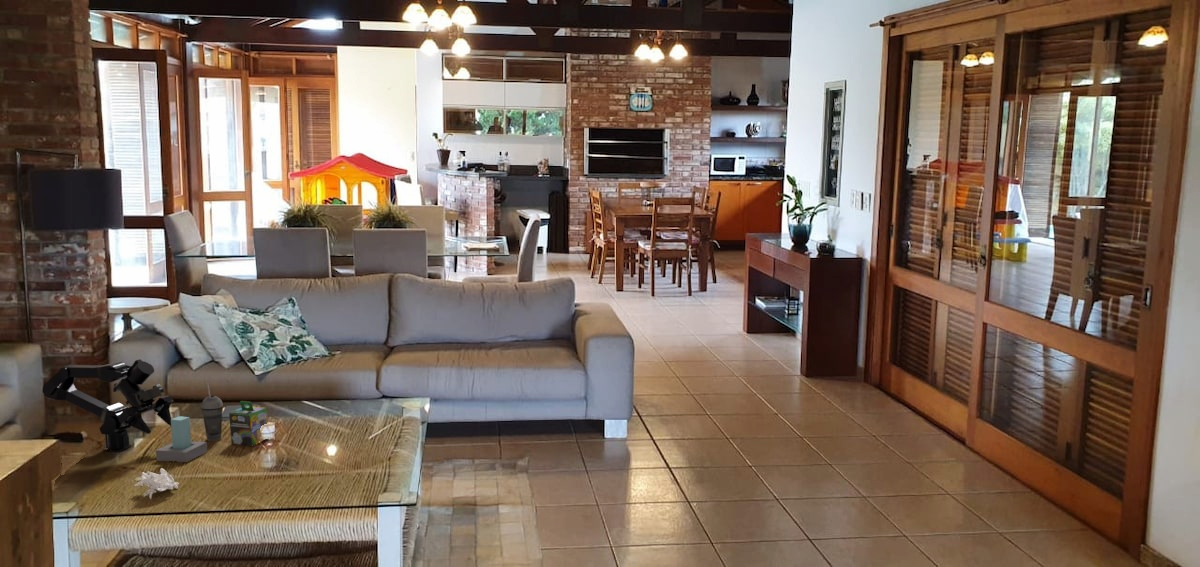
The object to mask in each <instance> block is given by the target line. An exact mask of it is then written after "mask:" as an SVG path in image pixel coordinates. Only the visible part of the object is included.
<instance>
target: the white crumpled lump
mask: <svg viewBox="0 0 1200 567" xmlns="http://www.w3.org/2000/svg"><path fill="white" fill-rule="evenodd" d="M159 472H160V474H158V473H155V472H151V471H149V470H147V472H144V471H142V472H141V476H140V478H141V480H140V481H138V482H137V483H136V484H134V487H138V486H141V487H144V486H147V487H148V488H150V489H147V490H146V492H143V494H144V495H143V497H146V496H148V495H149V499H150V500H152V497H153V494H154V493H157V491H158V492H164V491H166V490H174V489H176V490H178V489H179V486H178V485H180V483H179V482H178V481H175V479H174V478H173V475H172V474H170V473H168V472H167V470H165V469H164V468H162V467H161V468H160V469H159Z"/></svg>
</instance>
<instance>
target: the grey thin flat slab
mask: <svg viewBox="0 0 1200 567" xmlns="http://www.w3.org/2000/svg"><path fill="white" fill-rule="evenodd" d="M244 406H245V407H246V406H249V405H248V404H244ZM252 406H253V407H261V405H259V404H255V403H254V404H253V403H252ZM239 408H242V407H241V404H237V405H226V406H223V412H222V420H230V417H229V413H230V412H232V411H235V410H237V409H239Z"/></svg>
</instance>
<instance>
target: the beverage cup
mask: <svg viewBox="0 0 1200 567" xmlns="http://www.w3.org/2000/svg"><path fill="white" fill-rule="evenodd" d="M206 386H207V393H208V396H206V397H204V399H203V400H202V403H201V407H200V410H201V414H202V416H203V423H204V429H205V436H206V439H207V440H206V441H207V442H217V441H220V440H221V439H222V433H223V432H222V427H223V426H222V425H223V424H222V423H223V421H222V412H223V408H224V405H223V404H224V403H223V400H222V399H221V398H219V397H218V396H216V395H211V391H210V384H209V383H206ZM219 439H220V440H219ZM216 440H217V441H216Z"/></svg>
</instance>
